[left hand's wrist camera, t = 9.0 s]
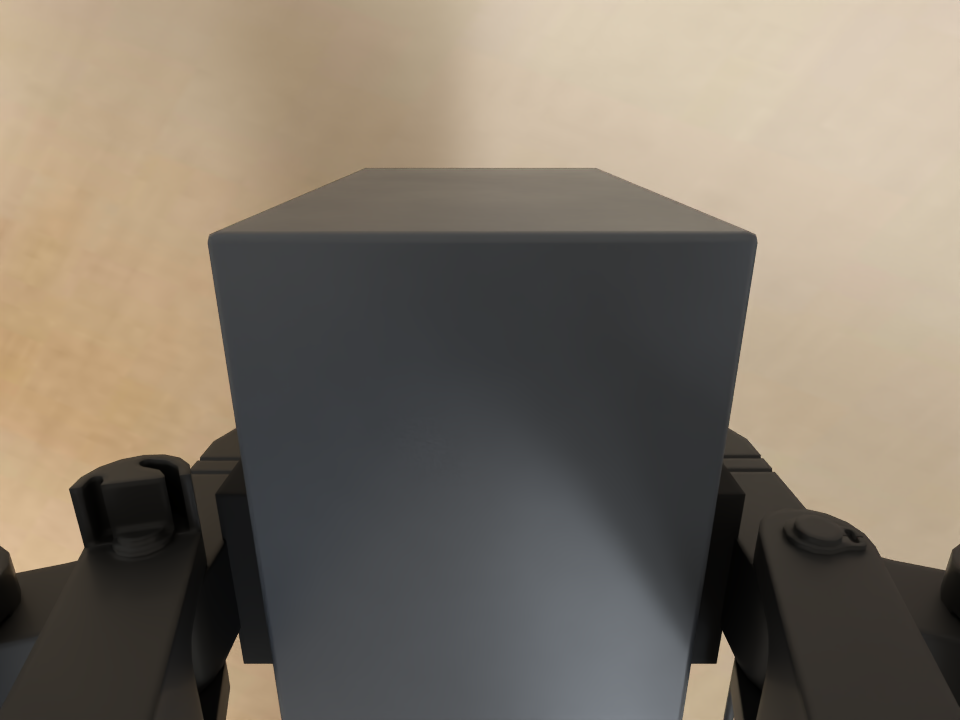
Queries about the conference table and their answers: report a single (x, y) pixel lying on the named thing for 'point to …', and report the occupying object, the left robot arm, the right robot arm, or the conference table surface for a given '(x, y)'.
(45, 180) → the conference table surface
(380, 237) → the beam
